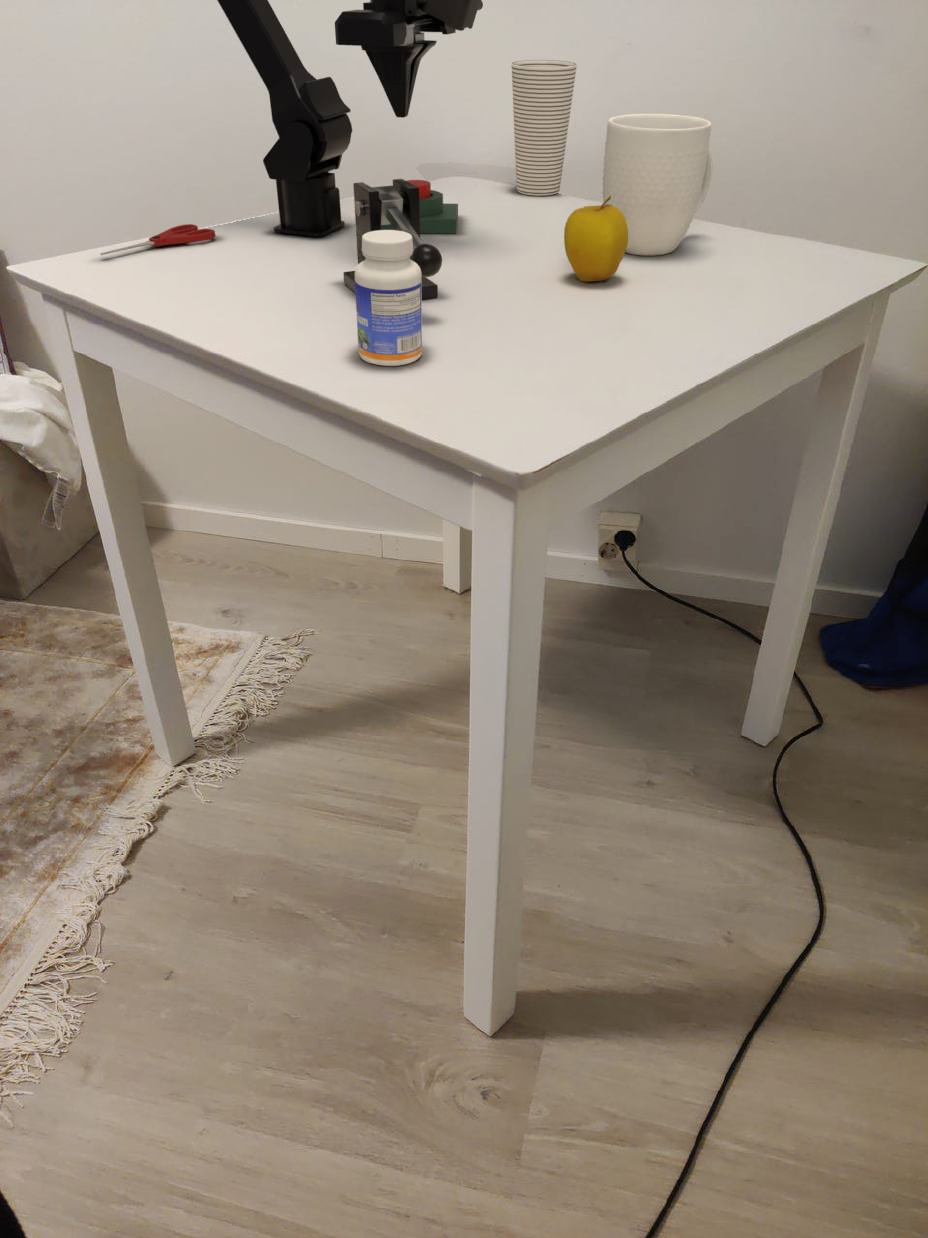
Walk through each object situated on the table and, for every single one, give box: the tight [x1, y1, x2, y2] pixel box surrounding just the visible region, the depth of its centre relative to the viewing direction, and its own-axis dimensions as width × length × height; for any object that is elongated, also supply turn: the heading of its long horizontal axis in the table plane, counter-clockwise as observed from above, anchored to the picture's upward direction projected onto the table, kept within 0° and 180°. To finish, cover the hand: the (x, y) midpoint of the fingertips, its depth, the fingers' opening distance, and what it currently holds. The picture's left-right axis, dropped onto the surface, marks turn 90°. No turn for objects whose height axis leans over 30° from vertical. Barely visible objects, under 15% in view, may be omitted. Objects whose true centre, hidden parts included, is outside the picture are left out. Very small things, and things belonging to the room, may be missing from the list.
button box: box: [380, 189, 459, 235], centre depth 116 cm, size 10×8×4 cm
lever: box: [371, 185, 443, 278], centre depth 88 cm, size 13×3×3 cm, turn 25°
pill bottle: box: [354, 230, 423, 367], centre depth 78 cm, size 5×5×10 cm
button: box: [406, 179, 432, 199], centre depth 115 cm, size 4×4×2 cm
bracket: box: [342, 178, 439, 300], centre depth 92 cm, size 8×7×10 cm
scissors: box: [99, 223, 216, 256], centre depth 108 cm, size 5×14×1 cm, turn 140°
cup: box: [511, 59, 578, 197], centre depth 128 cm, size 8×8×16 cm
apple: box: [563, 196, 628, 282], centre depth 96 cm, size 6×6×8 cm
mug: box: [602, 113, 713, 257], centre depth 106 cm, size 15×11×13 cm
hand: (401, 116), depth 104 cm, fingers closed
